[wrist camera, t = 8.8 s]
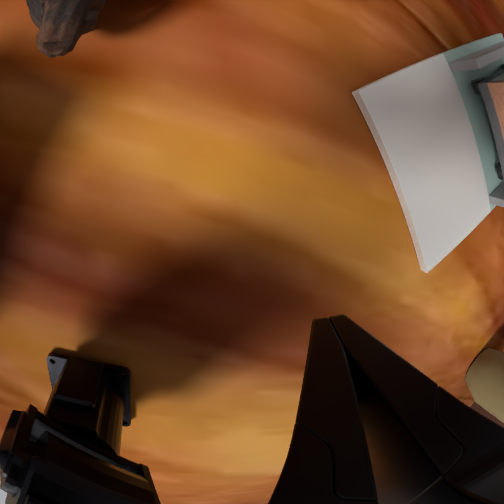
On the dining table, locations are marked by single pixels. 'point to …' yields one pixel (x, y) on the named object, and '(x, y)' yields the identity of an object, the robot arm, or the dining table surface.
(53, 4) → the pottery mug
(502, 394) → the squeeze bottle
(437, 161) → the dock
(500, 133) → the open bin with handle
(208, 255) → the dining table surface
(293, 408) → the dining table surface
